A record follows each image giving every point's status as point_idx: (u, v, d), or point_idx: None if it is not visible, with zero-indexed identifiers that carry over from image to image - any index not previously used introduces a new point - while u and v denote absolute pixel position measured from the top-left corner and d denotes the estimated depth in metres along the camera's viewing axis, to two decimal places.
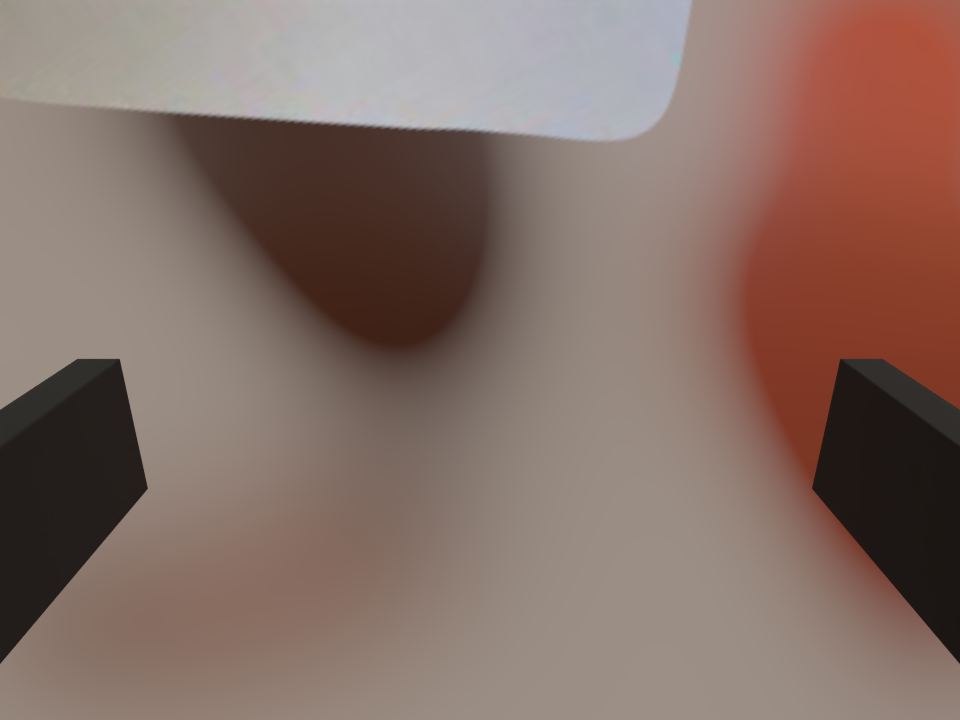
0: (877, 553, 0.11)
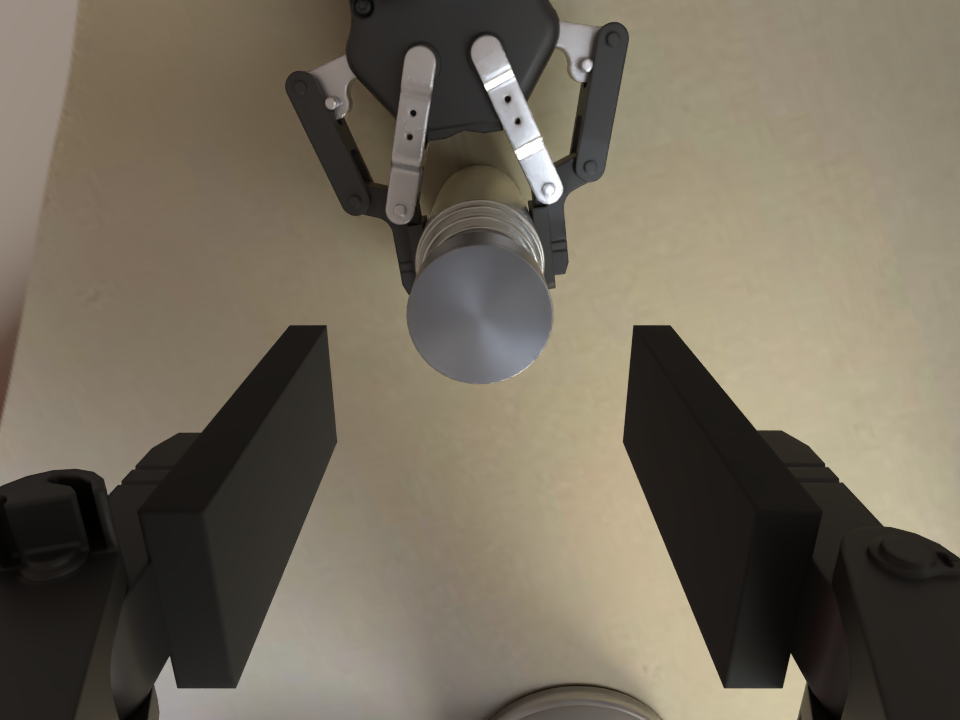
0: (647, 489, 0.12)
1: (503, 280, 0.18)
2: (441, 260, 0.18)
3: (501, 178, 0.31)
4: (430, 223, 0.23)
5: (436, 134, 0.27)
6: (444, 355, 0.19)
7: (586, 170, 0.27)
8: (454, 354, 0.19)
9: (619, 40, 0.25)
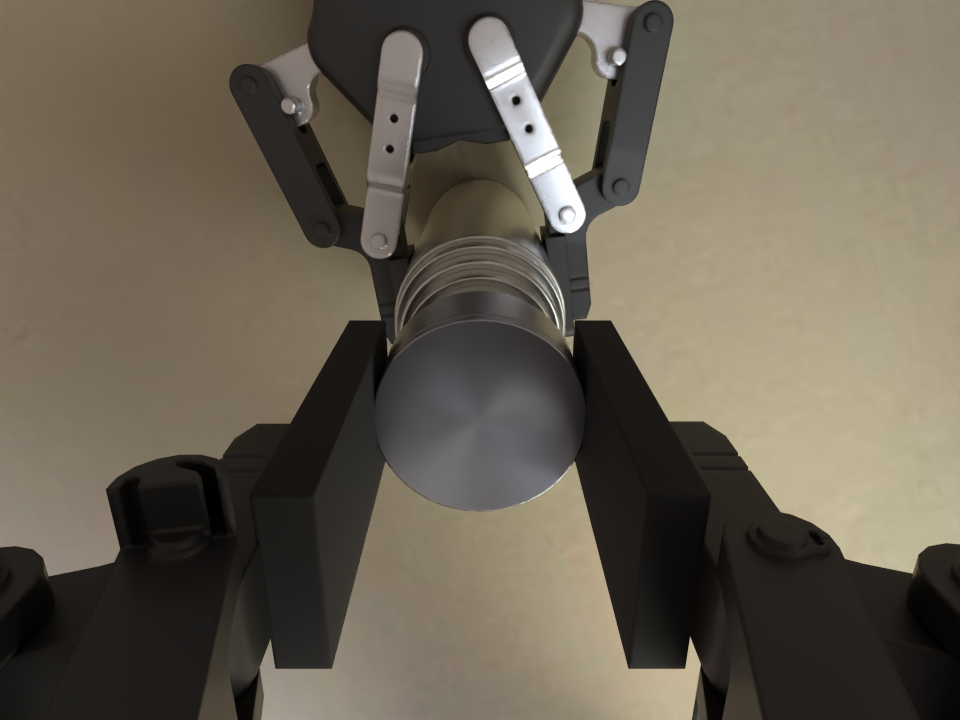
0: (582, 480, 0.13)
1: (515, 369, 0.12)
2: (422, 341, 0.12)
3: (506, 198, 0.25)
4: (414, 266, 0.18)
5: (425, 145, 0.21)
6: (428, 473, 0.13)
7: (615, 191, 0.21)
8: (443, 471, 0.13)
9: (661, 24, 0.20)
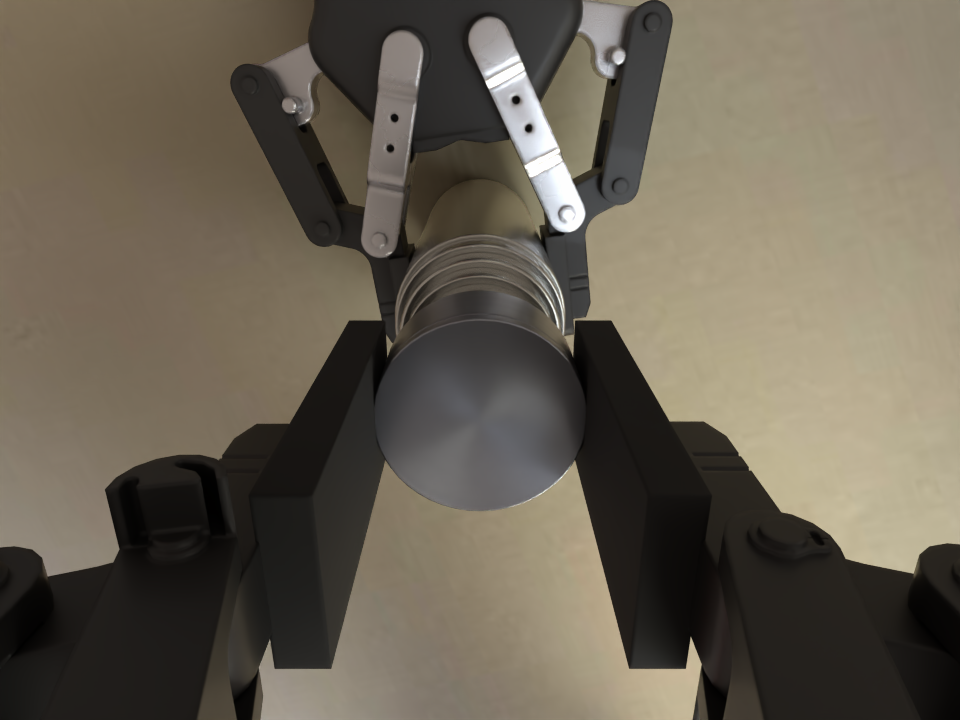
0: (583, 480, 0.13)
1: (415, 429, 0.13)
2: (449, 503, 0.13)
3: (506, 197, 0.25)
4: (414, 264, 0.18)
5: (425, 144, 0.21)
6: (559, 424, 0.13)
7: (615, 190, 0.21)
8: (549, 414, 0.12)
9: (660, 24, 0.20)
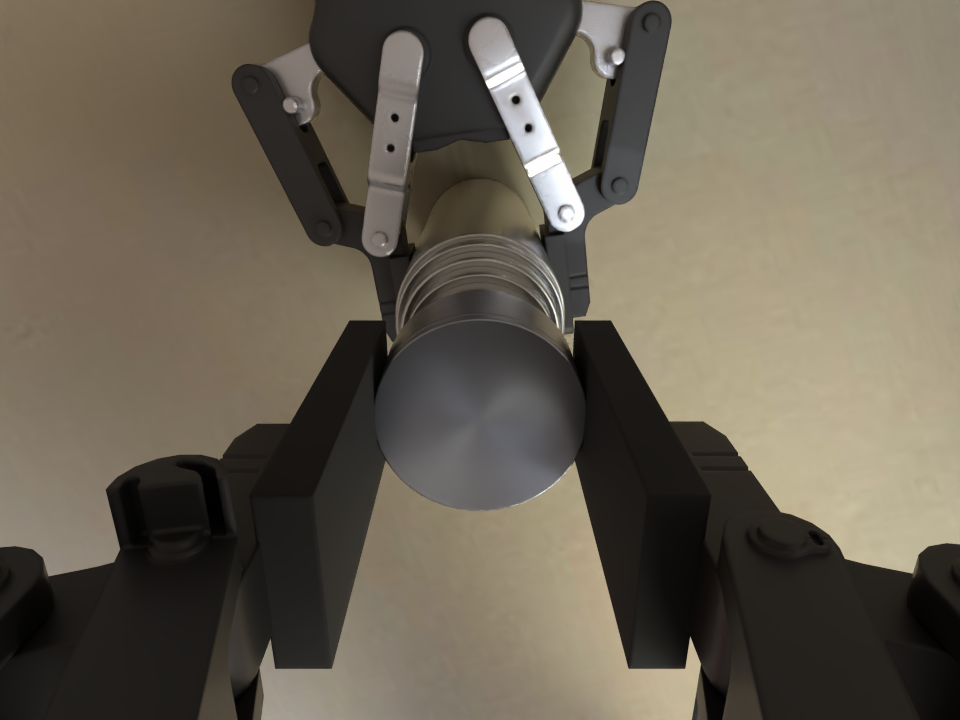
0: (583, 480, 0.13)
1: (527, 459, 0.13)
2: (577, 388, 0.12)
3: (506, 196, 0.25)
4: (415, 264, 0.18)
5: (425, 144, 0.21)
6: (431, 361, 0.12)
7: (614, 189, 0.22)
8: (429, 375, 0.12)
9: (659, 24, 0.20)
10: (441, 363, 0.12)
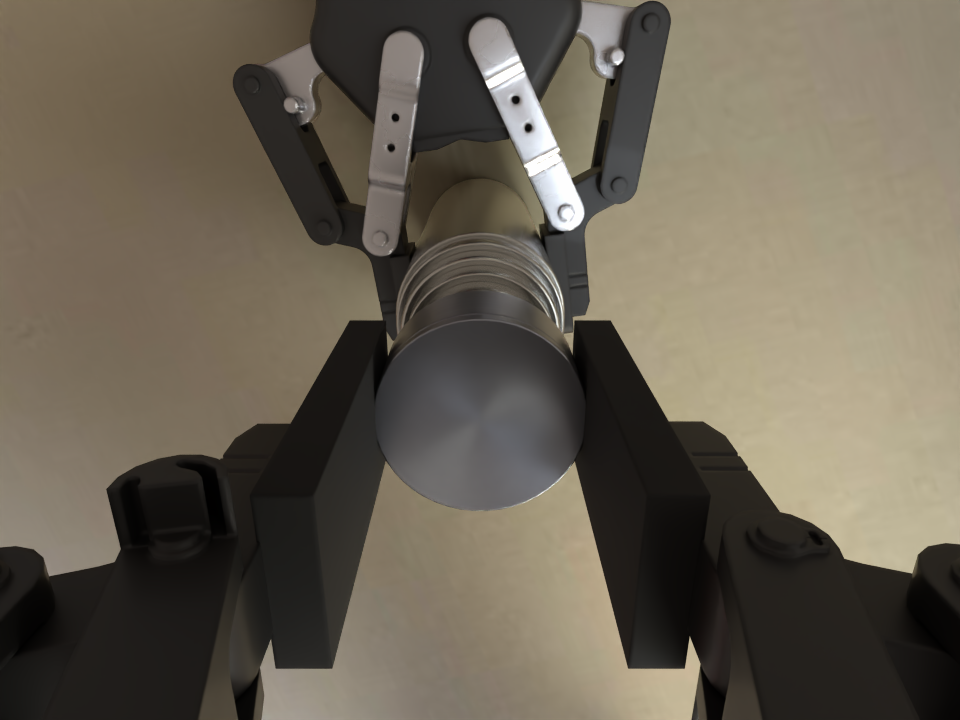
0: (582, 480, 0.13)
1: (484, 360, 0.12)
2: (389, 374, 0.12)
3: (506, 196, 0.25)
4: (415, 262, 0.18)
5: (425, 144, 0.21)
6: (461, 487, 0.13)
7: (614, 189, 0.22)
8: (473, 480, 0.13)
9: (659, 24, 0.20)
10: (457, 479, 0.13)
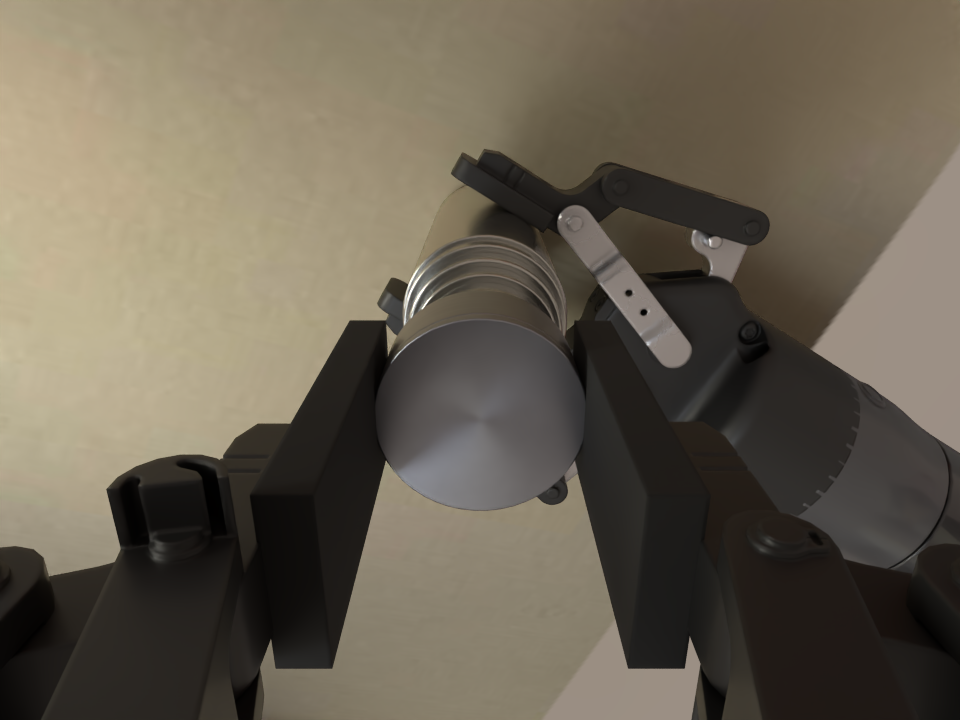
0: (582, 480, 0.13)
1: (484, 360, 0.12)
2: (390, 374, 0.12)
3: None
4: (565, 303, 0.19)
5: (605, 309, 0.24)
6: (461, 487, 0.13)
7: None
8: (473, 480, 0.13)
9: (548, 496, 0.26)
10: (457, 479, 0.13)
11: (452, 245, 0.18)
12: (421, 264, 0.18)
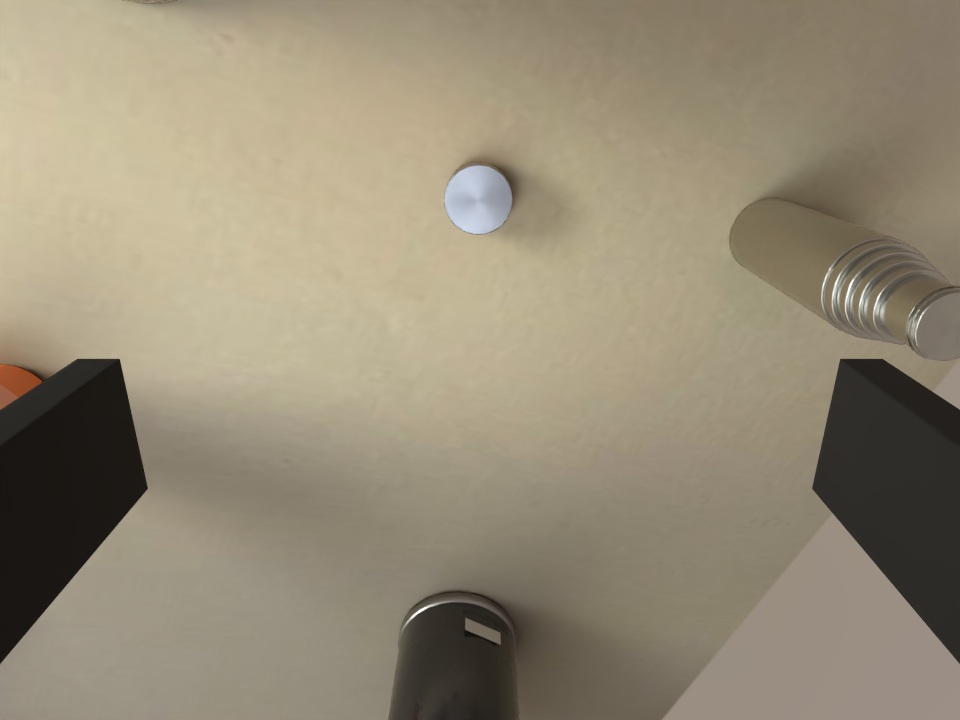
0: (876, 552, 0.11)
1: (479, 179, 0.39)
2: (450, 184, 0.39)
3: None
4: None
5: None
6: (472, 225, 0.40)
7: None
8: (476, 222, 0.40)
9: None
10: (471, 222, 0.40)
11: (863, 243, 0.30)
12: (840, 255, 0.30)
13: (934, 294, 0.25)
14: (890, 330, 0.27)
